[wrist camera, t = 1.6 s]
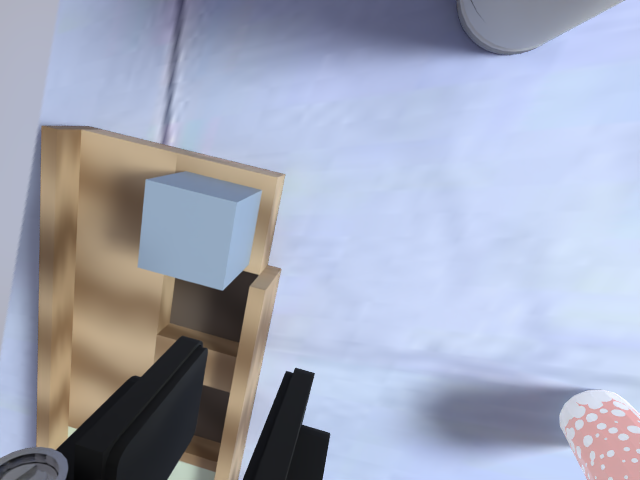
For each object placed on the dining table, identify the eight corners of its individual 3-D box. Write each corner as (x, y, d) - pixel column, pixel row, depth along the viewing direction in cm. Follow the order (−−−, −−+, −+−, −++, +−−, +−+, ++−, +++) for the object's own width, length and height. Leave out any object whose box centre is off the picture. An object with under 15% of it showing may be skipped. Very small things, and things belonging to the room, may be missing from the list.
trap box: (232, 507, 35) (213, 554, 31) (72, 456, 36) (35, 495, 32) (299, 177, 26) (285, 186, 22) (88, 126, 27) (41, 125, 24)
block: (248, 264, 26) (222, 290, 22) (177, 245, 27) (137, 267, 22) (262, 190, 25) (237, 202, 20) (185, 171, 25) (145, 179, 21)
